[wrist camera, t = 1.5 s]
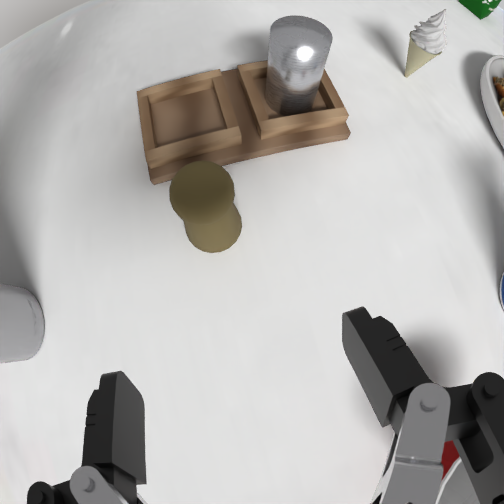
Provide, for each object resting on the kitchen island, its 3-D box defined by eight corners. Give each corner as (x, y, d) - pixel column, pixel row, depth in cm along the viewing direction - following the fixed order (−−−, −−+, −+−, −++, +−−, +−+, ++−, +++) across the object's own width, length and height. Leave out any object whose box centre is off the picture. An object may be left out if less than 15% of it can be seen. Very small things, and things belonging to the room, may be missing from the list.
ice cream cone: (392, 83, 39) (432, 11, 24) (389, 60, 40) (423, -9, 25) (422, 92, 39) (467, 27, 24) (417, 70, 40) (456, 6, 25)
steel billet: (273, 120, 35) (282, 55, 25) (259, 84, 37) (262, 18, 26) (321, 112, 36) (342, 49, 25) (304, 77, 37) (318, 14, 26)
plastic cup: (464, 455, 29) (519, 484, 17) (397, 500, 28) (440, 547, 16) (449, 393, 31) (514, 412, 19) (375, 440, 30) (425, 483, 18)
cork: (180, 206, 35) (154, 161, 24) (233, 192, 35) (228, 140, 24) (192, 259, 34) (167, 232, 23) (248, 244, 34) (248, 210, 23)
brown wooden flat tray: (153, 185, 35) (145, 172, 32) (141, 101, 38) (133, 85, 34) (347, 139, 37) (355, 124, 33) (310, 64, 39) (314, 48, 36)
